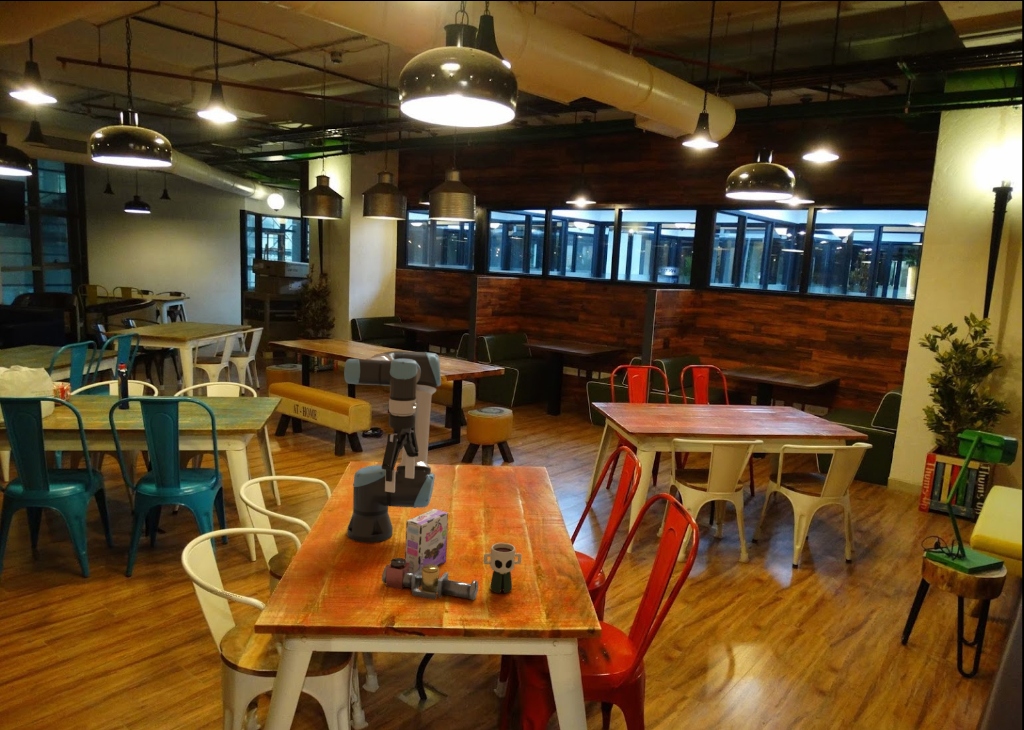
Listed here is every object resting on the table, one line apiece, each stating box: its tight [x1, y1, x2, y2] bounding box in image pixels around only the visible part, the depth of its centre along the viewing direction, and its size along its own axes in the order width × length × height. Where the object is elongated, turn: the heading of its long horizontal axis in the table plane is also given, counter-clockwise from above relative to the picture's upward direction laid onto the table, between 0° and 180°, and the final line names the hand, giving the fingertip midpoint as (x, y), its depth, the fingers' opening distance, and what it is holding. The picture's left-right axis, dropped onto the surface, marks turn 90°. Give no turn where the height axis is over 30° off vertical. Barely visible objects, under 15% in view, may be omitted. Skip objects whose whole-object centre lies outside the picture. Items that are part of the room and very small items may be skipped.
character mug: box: [483, 542, 522, 594], centre depth 202 cm, size 11×7×13 cm, turn 97°
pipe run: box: [381, 557, 479, 601], centre depth 200 cm, size 27×9×7 cm, turn 75°
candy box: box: [404, 508, 449, 574], centre depth 214 cm, size 14×6×16 cm, turn 148°
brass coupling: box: [420, 564, 440, 594], centre depth 200 cm, size 5×5×7 cm
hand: (400, 484), depth 203 cm, fingers open, 13 cm apart
